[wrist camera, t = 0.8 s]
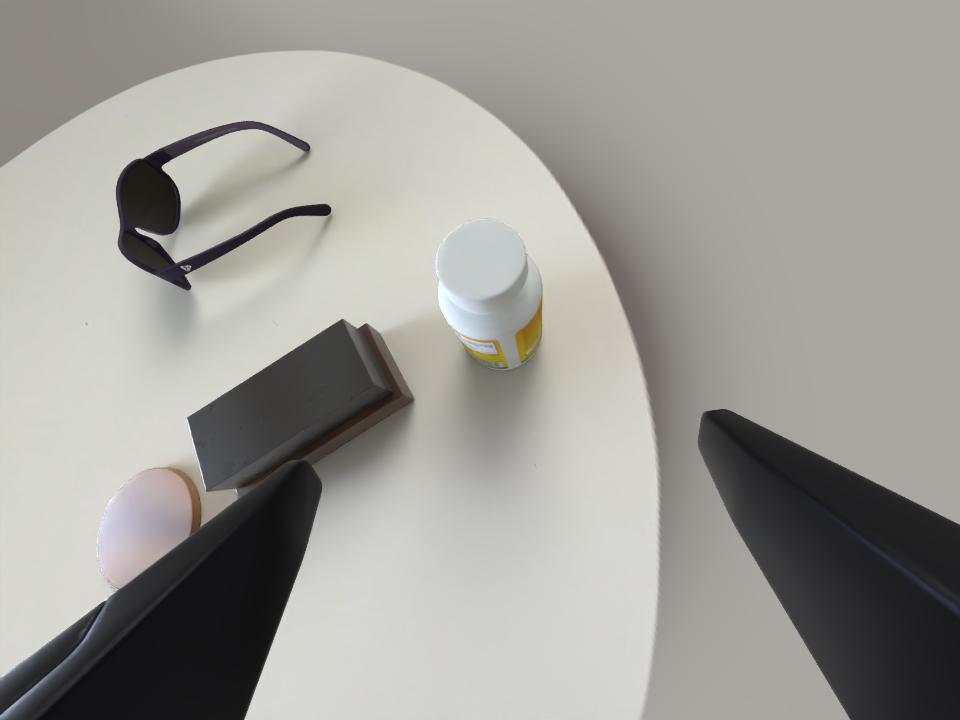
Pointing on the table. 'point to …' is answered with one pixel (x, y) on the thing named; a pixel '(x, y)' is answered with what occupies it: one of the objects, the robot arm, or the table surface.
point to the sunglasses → (157, 205)
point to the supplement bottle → (490, 293)
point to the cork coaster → (146, 522)
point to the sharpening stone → (298, 407)
